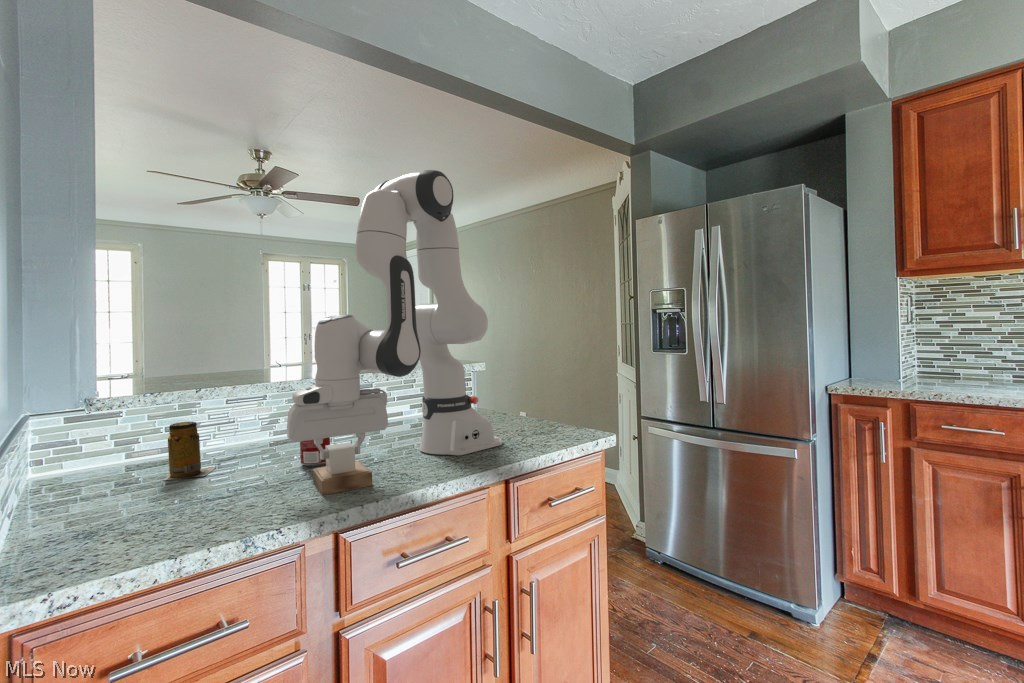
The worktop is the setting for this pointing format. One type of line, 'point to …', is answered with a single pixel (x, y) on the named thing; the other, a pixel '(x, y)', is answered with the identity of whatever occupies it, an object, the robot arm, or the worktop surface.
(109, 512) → the worktop surface
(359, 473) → the plinth
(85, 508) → the worktop surface
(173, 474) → the condiment
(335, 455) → the cube
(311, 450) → the soda can
